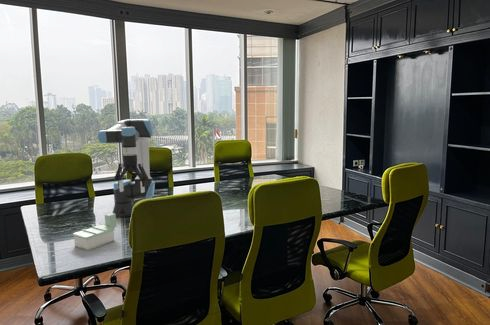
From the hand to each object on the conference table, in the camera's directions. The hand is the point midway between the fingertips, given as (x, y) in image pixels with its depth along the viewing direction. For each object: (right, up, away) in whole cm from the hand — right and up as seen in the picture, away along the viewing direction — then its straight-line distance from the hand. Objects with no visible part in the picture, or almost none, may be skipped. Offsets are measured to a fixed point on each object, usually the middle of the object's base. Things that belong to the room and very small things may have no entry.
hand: (132, 191), depth 209 cm
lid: (-15, -20, -12) cm, 28 cm away
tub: (-16, -27, -13) cm, 33 cm away
